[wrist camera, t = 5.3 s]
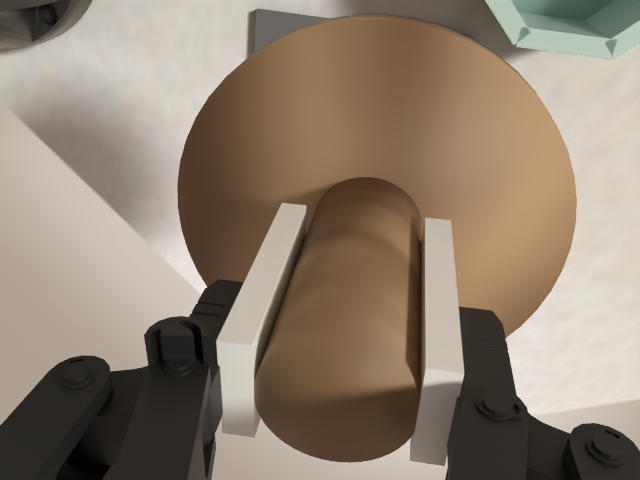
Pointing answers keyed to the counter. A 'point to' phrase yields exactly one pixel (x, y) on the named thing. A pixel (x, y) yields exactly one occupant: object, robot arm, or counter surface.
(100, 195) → the counter surface
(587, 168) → the counter surface
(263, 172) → the lid
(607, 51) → the bowl
